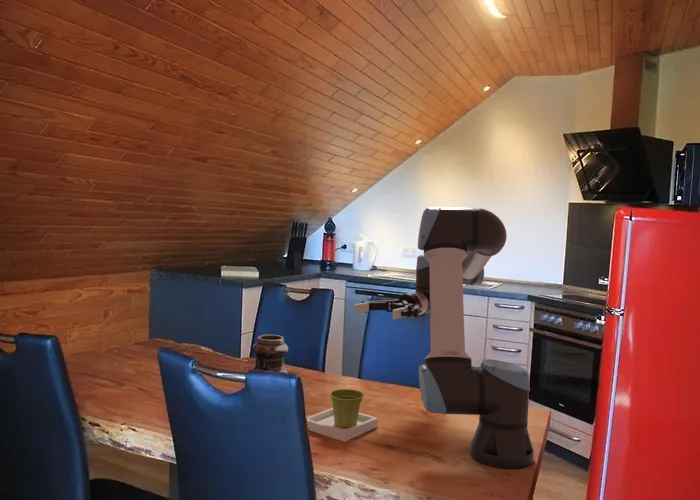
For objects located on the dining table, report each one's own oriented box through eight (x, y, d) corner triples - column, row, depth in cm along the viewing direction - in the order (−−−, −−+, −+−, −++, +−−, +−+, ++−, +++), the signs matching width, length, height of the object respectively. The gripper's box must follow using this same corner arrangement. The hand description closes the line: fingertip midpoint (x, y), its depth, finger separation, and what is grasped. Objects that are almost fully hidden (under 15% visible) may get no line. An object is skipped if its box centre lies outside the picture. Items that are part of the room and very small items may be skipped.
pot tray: (377, 426, 163) (378, 417, 163) (344, 441, 151) (344, 432, 151) (336, 414, 172) (336, 406, 172) (301, 427, 160) (302, 419, 160)
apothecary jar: (276, 397, 187) (277, 342, 186) (243, 392, 191) (244, 338, 190) (293, 387, 198) (294, 335, 197) (262, 383, 202) (263, 332, 201)
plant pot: (369, 424, 161) (370, 394, 161) (347, 433, 154) (348, 401, 154) (344, 416, 167) (345, 386, 167) (321, 424, 160) (322, 393, 160)
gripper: (445, 321, 179) (410, 330, 163) (378, 311, 194) (340, 319, 177) (446, 297, 179) (411, 303, 162) (379, 289, 194) (340, 294, 177)
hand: (373, 311), depth 170 cm, fingers open, 13 cm apart
